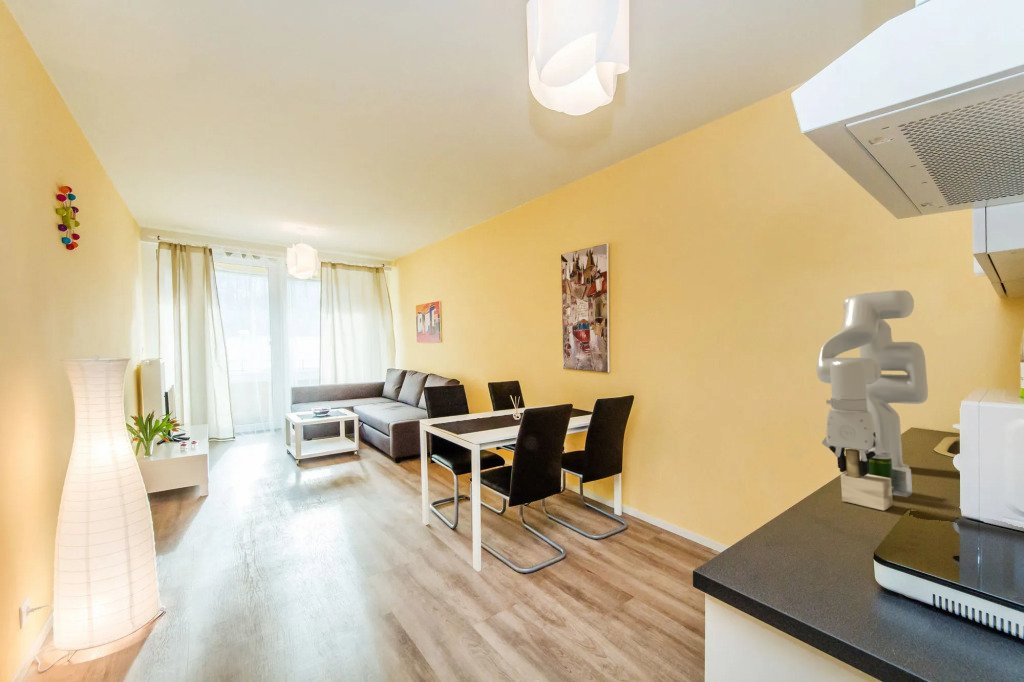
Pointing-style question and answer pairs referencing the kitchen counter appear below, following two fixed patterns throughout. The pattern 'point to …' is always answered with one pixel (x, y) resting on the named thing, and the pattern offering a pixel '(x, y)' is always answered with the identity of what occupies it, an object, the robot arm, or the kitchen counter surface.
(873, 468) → the beer can
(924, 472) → the kitchen counter surface
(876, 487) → the wooden block with peg
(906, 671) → the kitchen counter surface
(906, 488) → the grey box
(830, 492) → the kitchen counter surface
